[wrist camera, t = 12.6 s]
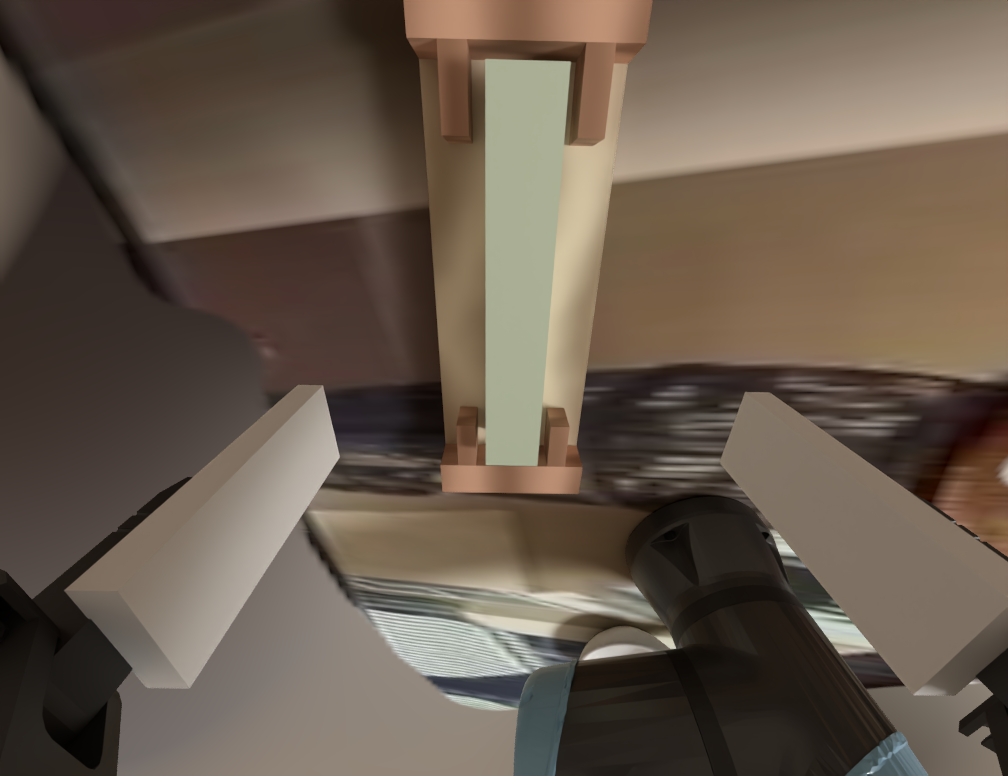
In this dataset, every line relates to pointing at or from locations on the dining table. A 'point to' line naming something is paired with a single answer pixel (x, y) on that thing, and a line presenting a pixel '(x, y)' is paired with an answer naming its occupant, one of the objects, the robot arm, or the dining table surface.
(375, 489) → the dining table surface
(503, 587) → the dining table surface
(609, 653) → the spoon rest
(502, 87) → the slat
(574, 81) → the slat cradle
